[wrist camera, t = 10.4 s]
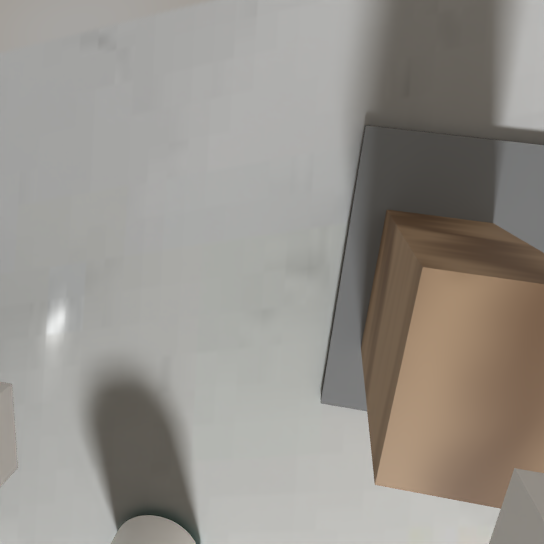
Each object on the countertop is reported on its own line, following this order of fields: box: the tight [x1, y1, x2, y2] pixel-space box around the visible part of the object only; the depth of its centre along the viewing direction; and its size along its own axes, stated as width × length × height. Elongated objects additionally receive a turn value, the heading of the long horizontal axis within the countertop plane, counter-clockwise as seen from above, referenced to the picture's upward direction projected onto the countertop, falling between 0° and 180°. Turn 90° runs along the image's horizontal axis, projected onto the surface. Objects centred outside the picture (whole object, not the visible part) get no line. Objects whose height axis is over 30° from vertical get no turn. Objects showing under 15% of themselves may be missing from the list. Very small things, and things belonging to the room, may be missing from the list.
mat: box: [321, 125, 544, 411], centre depth 27 cm, size 22×18×1 cm
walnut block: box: [361, 210, 544, 508], centre depth 22 cm, size 6×9×12 cm, turn 174°
